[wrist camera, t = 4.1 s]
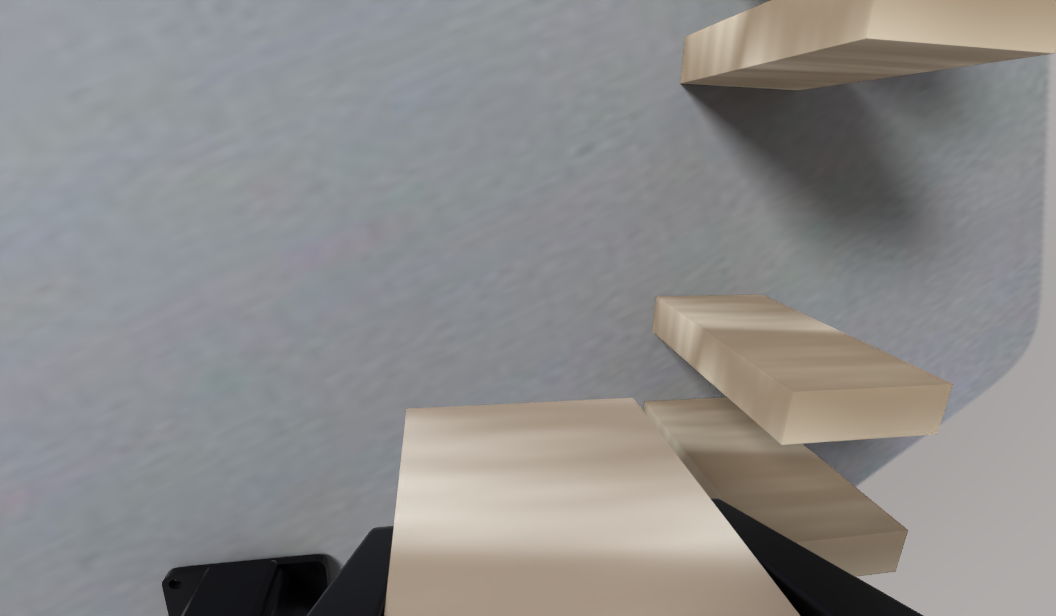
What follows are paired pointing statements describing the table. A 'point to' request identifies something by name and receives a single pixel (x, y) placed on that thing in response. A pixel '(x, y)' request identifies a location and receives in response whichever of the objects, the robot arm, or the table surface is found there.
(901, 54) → the domino
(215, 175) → the table surface
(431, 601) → the domino
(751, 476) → the domino
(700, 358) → the domino
